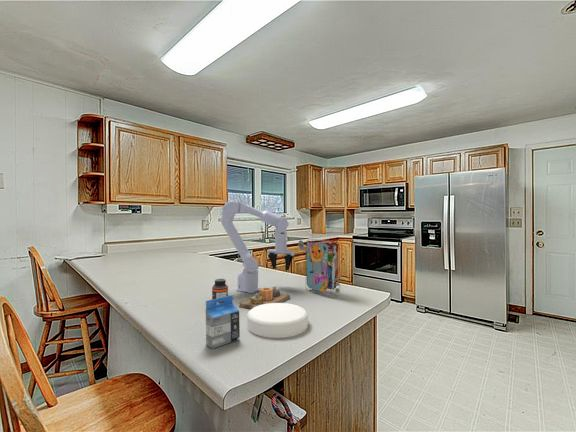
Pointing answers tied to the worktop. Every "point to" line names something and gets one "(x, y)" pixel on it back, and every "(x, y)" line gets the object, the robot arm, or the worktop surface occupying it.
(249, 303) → the gear board
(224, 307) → the label tape box
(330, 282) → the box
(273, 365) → the worktop surface
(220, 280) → the supplement bottle
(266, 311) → the container
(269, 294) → the idler gear
